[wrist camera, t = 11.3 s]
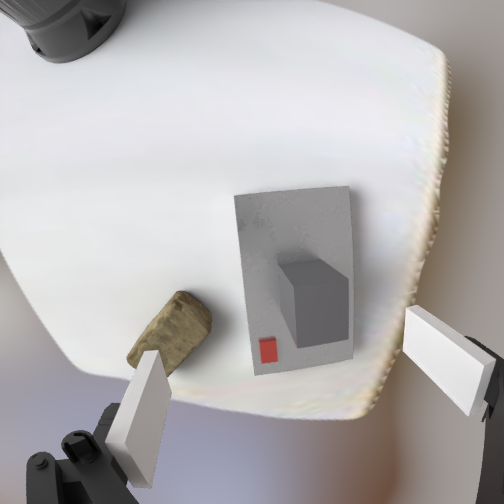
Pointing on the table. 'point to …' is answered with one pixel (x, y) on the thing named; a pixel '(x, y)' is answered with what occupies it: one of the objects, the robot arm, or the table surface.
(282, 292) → the plug
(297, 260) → the socket plate
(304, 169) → the table surface
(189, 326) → the stone block
